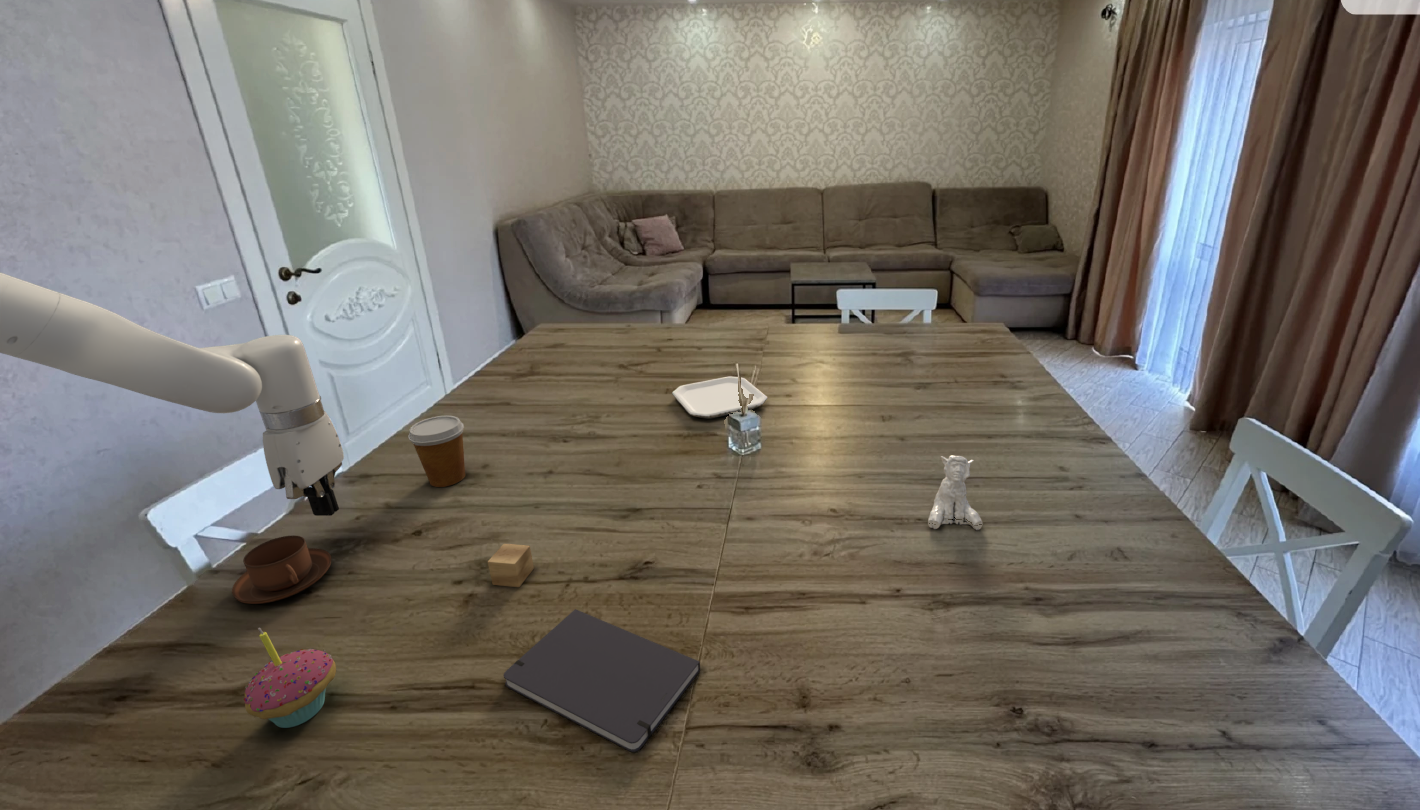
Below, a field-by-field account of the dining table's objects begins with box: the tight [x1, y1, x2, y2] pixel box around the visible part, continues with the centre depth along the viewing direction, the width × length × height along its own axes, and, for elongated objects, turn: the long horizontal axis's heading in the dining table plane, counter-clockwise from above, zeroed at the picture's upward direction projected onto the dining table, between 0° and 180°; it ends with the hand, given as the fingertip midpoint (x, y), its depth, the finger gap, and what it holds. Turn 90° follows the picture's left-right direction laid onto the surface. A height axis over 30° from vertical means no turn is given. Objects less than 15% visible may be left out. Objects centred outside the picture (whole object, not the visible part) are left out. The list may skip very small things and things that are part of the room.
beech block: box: [487, 543, 535, 588], centre depth 95 cm, size 4×4×4 cm
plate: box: [671, 375, 768, 420], centre depth 157 cm, size 21×21×2 cm
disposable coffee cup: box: [407, 415, 466, 488], centre depth 120 cm, size 10×10×12 cm
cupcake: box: [243, 627, 337, 729], centre depth 71 cm, size 9×8×12 cm
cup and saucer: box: [231, 535, 332, 605], centre depth 93 cm, size 12×12×6 cm
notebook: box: [503, 608, 701, 753], centre depth 77 cm, size 13×2×21 cm
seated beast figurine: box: [927, 455, 984, 531], centre depth 108 cm, size 10×9×12 cm
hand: (326, 512), depth 102 cm, fingers closed
